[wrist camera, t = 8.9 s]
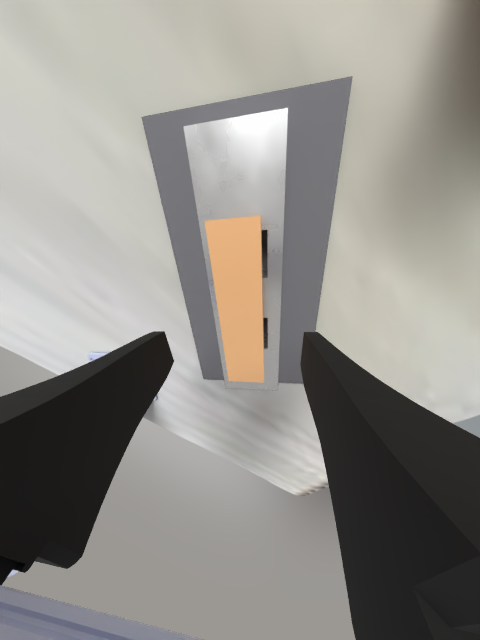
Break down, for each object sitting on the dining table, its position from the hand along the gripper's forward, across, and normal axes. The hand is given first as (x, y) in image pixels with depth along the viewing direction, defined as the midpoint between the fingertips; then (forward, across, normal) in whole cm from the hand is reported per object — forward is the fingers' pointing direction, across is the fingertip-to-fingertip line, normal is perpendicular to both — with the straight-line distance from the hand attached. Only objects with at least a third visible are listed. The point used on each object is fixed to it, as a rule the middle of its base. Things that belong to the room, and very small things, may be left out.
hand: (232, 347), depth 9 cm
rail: (+10, 0, 0) cm, 10 cm away
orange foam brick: (+10, 0, 0) cm, 10 cm away
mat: (+10, 0, 0) cm, 10 cm away
